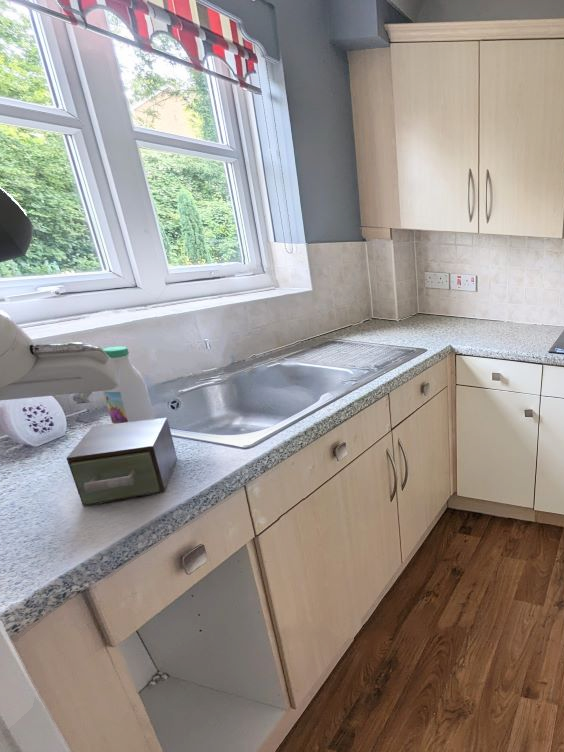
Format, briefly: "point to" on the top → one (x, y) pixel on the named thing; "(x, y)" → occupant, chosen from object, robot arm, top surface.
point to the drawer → (115, 477)
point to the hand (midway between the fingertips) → (40, 403)
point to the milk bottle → (127, 391)
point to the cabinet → (130, 447)
